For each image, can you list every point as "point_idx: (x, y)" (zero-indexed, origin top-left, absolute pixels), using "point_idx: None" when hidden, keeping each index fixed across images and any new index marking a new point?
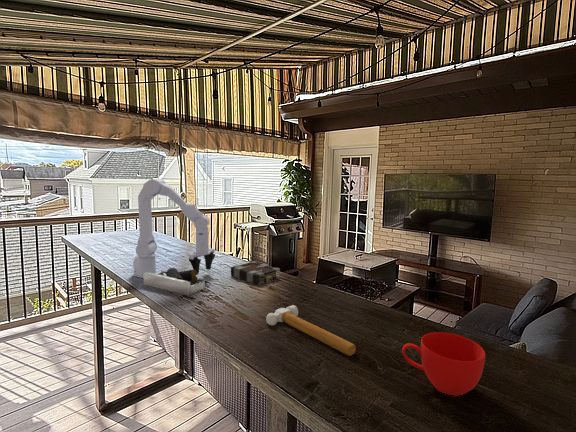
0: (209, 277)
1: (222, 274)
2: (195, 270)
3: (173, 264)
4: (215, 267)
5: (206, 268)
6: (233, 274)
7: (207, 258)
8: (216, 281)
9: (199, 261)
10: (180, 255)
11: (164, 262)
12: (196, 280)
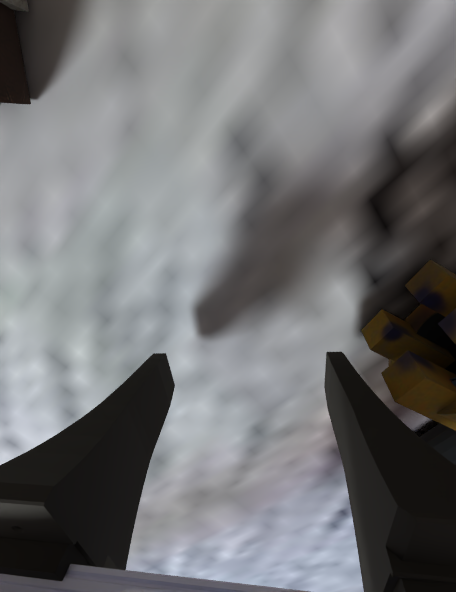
0: (244, 262)
1: (91, 228)
2: (430, 378)
3: (203, 551)
4: (44, 392)
5: (171, 387)
6: (4, 27)
7: (121, 489)
8: (309, 75)
9: (419, 484)
10: None
11: (211, 579)
12: (442, 268)
